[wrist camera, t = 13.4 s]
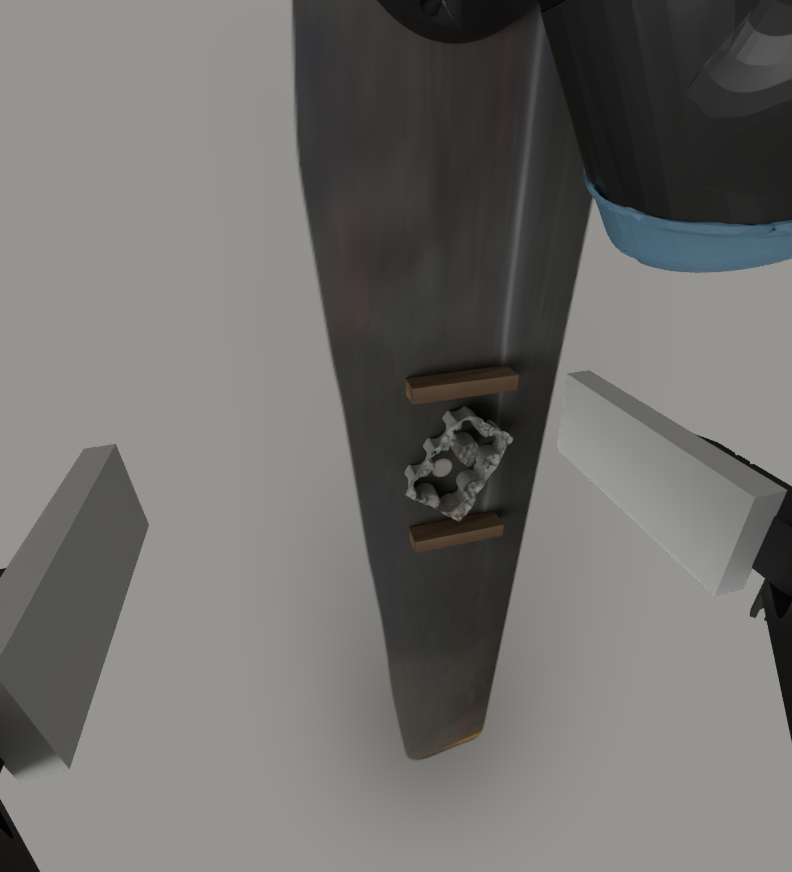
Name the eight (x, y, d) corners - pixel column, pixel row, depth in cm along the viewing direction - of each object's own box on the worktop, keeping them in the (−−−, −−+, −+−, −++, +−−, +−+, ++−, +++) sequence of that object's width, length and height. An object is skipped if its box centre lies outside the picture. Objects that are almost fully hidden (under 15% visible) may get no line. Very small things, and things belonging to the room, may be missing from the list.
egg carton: (444, 504, 51) (457, 528, 48) (391, 477, 48) (401, 500, 44) (507, 429, 49) (526, 448, 45) (456, 394, 45) (472, 413, 42)
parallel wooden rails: (405, 378, 43) (412, 389, 41) (506, 365, 45) (518, 374, 43) (409, 537, 52) (415, 553, 50) (493, 521, 54) (502, 535, 52)
